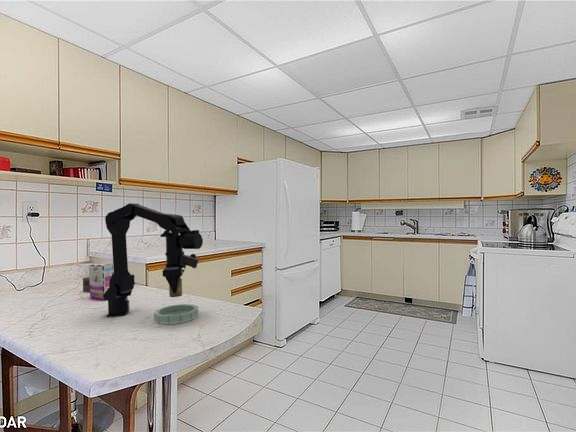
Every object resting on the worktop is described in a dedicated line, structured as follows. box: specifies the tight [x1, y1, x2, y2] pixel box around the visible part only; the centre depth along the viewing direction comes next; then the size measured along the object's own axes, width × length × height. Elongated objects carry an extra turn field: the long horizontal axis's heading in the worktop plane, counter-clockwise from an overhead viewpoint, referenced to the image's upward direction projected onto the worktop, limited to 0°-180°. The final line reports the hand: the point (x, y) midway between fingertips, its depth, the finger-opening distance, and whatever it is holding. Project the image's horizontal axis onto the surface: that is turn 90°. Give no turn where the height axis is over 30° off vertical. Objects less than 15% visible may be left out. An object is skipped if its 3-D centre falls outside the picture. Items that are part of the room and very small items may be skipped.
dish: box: [153, 303, 199, 325], centre depth 117 cm, size 15×15×3 cm
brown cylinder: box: [168, 277, 183, 298], centre depth 117 cm, size 4×4×6 cm
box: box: [82, 276, 90, 293], centre depth 168 cm, size 6×6×7 cm
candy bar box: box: [88, 263, 114, 302], centre depth 150 cm, size 11×5×16 cm, turn 62°
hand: (175, 291), depth 117 cm, fingers closed on brown cylinder, 4 cm apart
